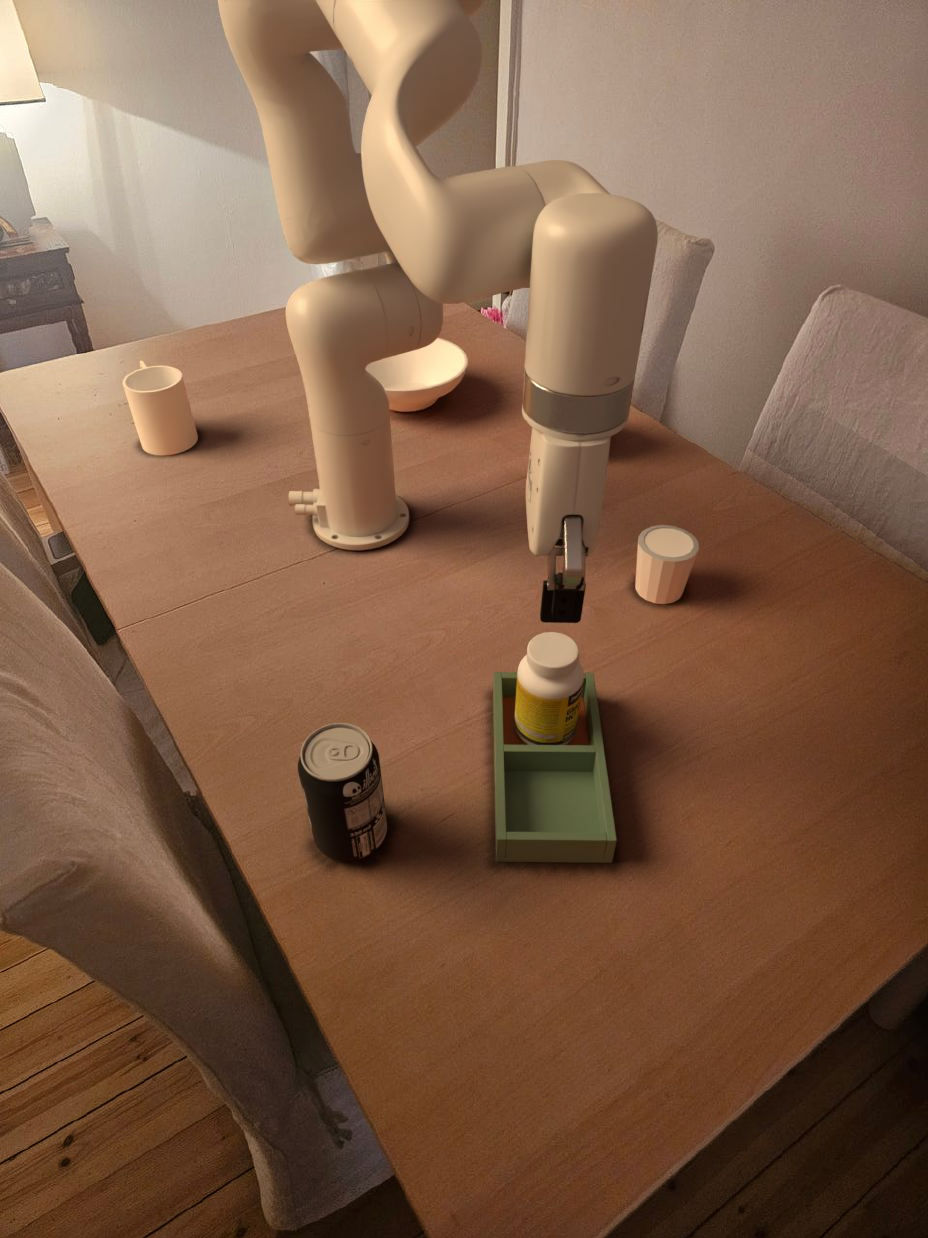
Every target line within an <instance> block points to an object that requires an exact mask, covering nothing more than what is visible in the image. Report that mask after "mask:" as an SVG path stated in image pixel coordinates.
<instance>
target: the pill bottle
mask: <svg viewBox="0 0 928 1238" xmlns="http://www.w3.org/2000/svg"><path fill="white" fill-rule="evenodd" d="M526 648H527V649H526V654H525V655H524V656H523V657H522V659H521V660H520V662H519V664H518V667H517V671H516V672H517V686H516V702H515V717H514V725H515V730H516V733H517V735H518V736H519V738H520V739H521V740H522V741H523V742H525V743H526V744H527V745H566V744H568V743H569V742H570V741H571V740H572V739H573V737H574V735H575V733H576V728H577V723H578V715H579V708H580V700H581V695H582V688H583V681H584V673H585V672H584V669H583V665H582V664H581V662H580V661H579V656H580V649H579V646H578V644H577V642H576V641H575V640H574V639H573V638H571V637H570V636H568V635H567V634H564V633H562V632H556V631H546V632H542V633H538V634H536V635H535V636H533V637H532V638H531V639H530V641H529V642H528V644H527V647H526Z"/></svg>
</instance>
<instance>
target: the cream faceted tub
mask: <svg viewBox="0 0 928 1238" xmlns="http://www.w3.org/2000/svg"><path fill="white" fill-rule="evenodd" d="M699 550H700V547H699V541H698V540H697V538H696V537H695V536H694V535H693V533H690V531H688V530H686V529H684V528H681V527H679V526H675V525H666V524H658V525H653V526H649V527H647V528H645V529H644V530H642V531H641V532H640V534H639V535H638V537H637V551H636V566H635V567H636V568H635V582H634V583H635V584H634V585H635V591H636V593H637V594H638V596H639V597H641V598H642V599H643V600H645V601H646V602H651V603H653V604H659V605H667V604H673V603H675V602H677V601H678V600H680V599H681V598H682V596H683V593H684V591H685V587H686V585H687V583H688V580H689V577H690V574H691V572H692V569H693V566H694V563H695V561H696V559H697V555H698V552H699Z"/></svg>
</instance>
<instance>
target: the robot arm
mask: <svg viewBox="0 0 928 1238" xmlns="http://www.w3.org/2000/svg"><path fill="white" fill-rule="evenodd" d="M486 1H487V0H217V5H218V10H219V16H220V20H221V24H222V25H221V26H222V28H223V31H224V35H225V38H226V41H227V44H228V46H229V49H230V52H231V54H232V57H233V58H234V61H235V64H236V66H237V67H238V69H239V72H240V73H241V76H242V78H243V80H244V82H245V85H246V87H247V90H248V91H249V94H250V96H251V99H252V101H253V103H254V106H255V108H256V111H257V115H258V119H259V123H260V126H261V132H262V136H263V143H264V147H265V152H266V157H267V162H268V168H269V172H270V176H271V182H272V187H273V191H274V192H273V193H274V196H275V201H276V206H277V207H276V208H277V211H278V216H279V220H280V225H281V229H282V232H283V236H284V239H285V243H286V244H287V247H288V249H289V251H290V253H292V255H293V256H294V258H296V259H297V260H298V261H300V262H301V263H304V264H308V265H328V264H332V263H339V262H345V261H350V260H355V259H359V258H365V257H369V256H375V255H379V254H384V256H385V260H386V264H382V265H377V266H372V267H368V268H363V269H355V270H352V271H347V272H346V271H345V272H341V273H336V274H331V275H328V276H323V277H321V278H320V277H319V278H317V279H314V280H311V281H310V282H307V283H304V284H302V285H301V286H299V287H298V288H297V289H295V290H294V292H292V293H291V295H290V297H288V300H287V303H286V306H285V320H286V321H285V323H286V327H287V331H288V335H289V338H290V341H291V345H292V347H293V351H294V354H295V357H296V360H297V363H298V366H299V370H300V374H301V378H302V383H303V389H304V392H305V399H306V405H307V412H308V418H309V424H310V430H311V438H312V444H313V445H312V446H313V451H314V458H315V459H314V460H315V465H316V472H317V478H318V485H319V486H318V487H319V488H313V489H312V491H304V490H289V491H288V504H289V506H290V507H294V514H295V515H296V516H306V515H312V527H313V531H314V533H315V534H316V536H317V537H318V538H319V539H320V540H321V541H323V542H324V543H325V544H327V545H329V546H331V547H333V548H337V549H341V550H347V551H366V550H373V549H377V548H381V547H383V546H386V545H389V544H390V543H392V542H394V541H396V540H397V539H398V538H400V537H401V536H403V534H404V533H405V532H406V531H407V529H408V527H409V523H410V511H409V507H408V505H407V504H406V503H405V501H404V500H403V499H402V498H400V497H399V496H397V495H396V493H397V492H396V483H395V482H396V481H395V468H394V467H395V466H394V465H395V464H394V454H393V439H392V438H393V437H392V426H391V410H390V409H389V400H388V396H387V393H386V391H385V389H384V387H383V386H382V384H381V383H380V382H379V381H378V380H377V379H376V378H375V377H374V376H373V375H371V374H370V373H369V372H368V371H366V366H367V365H368V364H370V363H372V362H375V361H379V360H381V359H384V358H388V357H392V356H395V355H399V354H403V353H407V352H411V351H414V350H417V349H420V348H423V347H426V346H428V345H430V344H432V343H433V342H434V341H435V340H436V339H437V338H439V336H440V334H441V332H442V329H443V325H444V323H443V322H444V304H445V305H455V304H456V305H458V304H464V303H469V302H473V301H478V300H482V299H485V298H489V297H494V296H497V295H500V294H504V293H508V292H513V291H517V290H520V289H521V290H522V289H529V290H528V291H529V293H528V307H527V321H526V323H527V325H526V338H525V339H526V340H525V356H524V367H523V368H524V369H523V371H524V372H523V385H522V403H521V414H522V418H523V419H524V421H525V422H526V423H527V425H528V426H530V427H531V435H530V436H531V437H530V445H529V454H528V455H529V456H528V465H527V473H526V481H525V509H526V510H525V511H526V525H527V526H526V527H527V538H528V539H527V540H528V546H529V547H528V548H529V550H530V552H531V553H532V554H533V556H534V557H539V556H541V557H542V556H543V557H547V577H546V580H545V579H544V580H543V582H542V589H541V591H542V592H541V600H540V611H539V618H540V621H541V622H542V623H549V624H551V623H553V624H579V623H580V622H581V620H582V615H583V608H584V602H585V594H586V587H587V583H586V565H587V564H586V563H587V558H588V557H590V556H591V555H592V554H593V553H594V552H595V550H596V547H597V542H598V538H599V532H600V526H601V519H602V513H603V508H604V507H603V506H604V500H605V499H604V498H605V490H606V484H607V473H608V467H609V458H610V449H611V438H612V436H614V435H616V434H618V433H620V432H621V431H622V430H623V429H624V428H625V427H626V426H627V424H628V421H629V416H630V410H631V404H632V398H633V392H634V387H635V380H636V374H637V370H638V369H637V367H638V362H639V356H640V349H641V344H642V339H643V333H644V332H643V331H644V325H645V319H646V313H647V307H648V302H649V295H650V289H651V283H652V277H653V272H654V266H655V259H656V253H657V248H658V239H659V232H658V226H657V220H656V218H655V216H654V215H653V213H652V211H650V210H649V209H648V207H646V206H645V205H644V204H642V203H640V202H638V201H637V200H633V199H632V198H629V197H625V196H620V195H616V194H612V193H610V192H609V191H608V190H607V189H606V188H605V187H604V186H603V185H602V184H601V183H600V182H599V181H598V180H597V179H596V178H595V177H594V176H593V175H592V174H591V173H590V172H589V171H588V170H586V169H585V168H584V167H582V166H581V165H579V164H577V163H575V162H573V161H569V160H564V159H563V160H562V159H549V160H543V161H542V160H541V161H537V162H531V163H526V164H520V165H509V166H502V167H496V168H491V169H486V170H479V171H474V172H468V173H461V174H457V175H452V176H448V177H443V178H441V177H438V176H436V174H434V173H433V171H432V170H431V169H430V167H429V166H428V165H427V162H426V161H425V160H424V157H423V156H422V154H421V153H420V151H419V149H418V148H417V147H418V146H419V145H420V144H422V143H423V142H424V141H426V139H427V138H429V137H430V136H431V135H433V134H434V133H435V132H437V131H439V130H440V128H442V127H443V126H445V125H446V124H447V123H448V122H449V121H450V120H451V119H453V117H455V115H456V114H458V112H460V110H461V109H462V108H463V107H464V105H465V104H466V103H467V102H468V100H469V99H470V97H471V95H472V94H473V91H474V89H475V88H476V85H477V83H478V81H479V77H480V75H481V69H482V63H483V48H482V43H481V38H480V35H479V32H478V30H477V28H476V26H475V25H474V23H473V22H472V20H471V19H472V18H474V17H475V16H476V15H477V14H478V13H479V12H480V10H481V9H482V8H483V7H484V5H485V3H486ZM335 50H336V51H337V50H339V51H340V50H344V51H345V53H346V54H347V56H348V58H349V60H350V62H351V63H352V65H353V66H354V69H355V71H356V72H357V73H358V75H359V77H360V79H361V81H362V82H363V83H364V85H365V87H366V88H367V90H368V93H370V96H371V97H370V101H369V103H368V105H367V108H366V112H365V117H364V122H363V125H362V133H361V141H360V142H361V143H360V152H357V151H356V149H355V145H354V140H353V135H352V128H351V127H352V126H351V120H350V119H351V118H350V111H349V108H348V103H347V101H346V98H345V96H344V93H343V92H342V90H341V88H340V86H339V85H338V84H337V82H336V81H335V80H334V78H333V77H332V76H331V74H330V72H329V71H328V70H327V69H326V68H325V66H324V65H323V64H322V63H321V62H320V60H318V59H317V58H316V56H315V55H314V54H312V53H313V52H323V51H335ZM311 52H312V53H311ZM555 546H556V547H555ZM557 557H563V559H562V561H563V563H562V571H561V572H560V571H559V572H557Z"/></svg>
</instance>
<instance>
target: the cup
mask: <svg viewBox="0 0 928 1238" xmlns="http://www.w3.org/2000/svg"><path fill="white" fill-rule="evenodd" d="M139 366H140V368H139V369H136V370H134V371H131V372H130V373H128V374H126V376H125V377H124V378H123V379H122V382H121V383H122V386H123V391H124V393H125V398H126V399H127V403H128V406H129V409H130V413H131V415H132V420H133V422H134V425H135V428H136V432H137V435H138V439H139V441H140V446H141V448H142V449H143V451H144V452H146V453H148V454H149V455H153V456H171V455H172V456H173V455H177V454H180V453H184V452H185V451H187V450H190V449H191V448H193V446H195V445H196V443H197V442H198V440H199V436H198V432H197V428H196V424H195V420H194V415H193V411H192V407H191V403H190V400H189V396H188V392H187V389H186V384H185V381H184V380H185V379H184V377H183V373H182V371H181V370H180V369H178V368H176V367H173V366H170V365H151V366H147V365H146V364H145V362H144V360H140V361H139Z"/></svg>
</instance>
